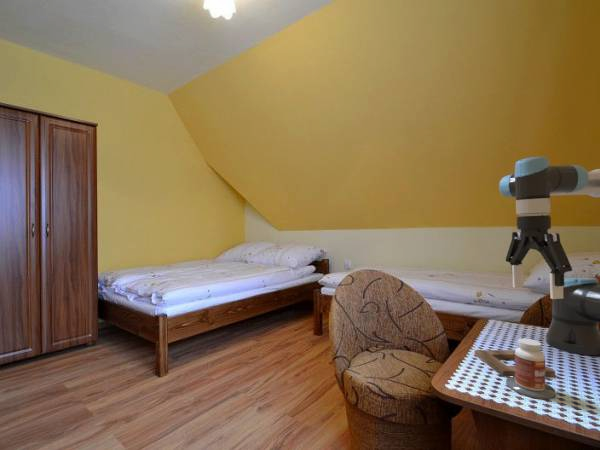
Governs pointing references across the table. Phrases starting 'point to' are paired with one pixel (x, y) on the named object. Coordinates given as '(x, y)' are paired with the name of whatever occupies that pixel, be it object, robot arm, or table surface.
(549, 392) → the slate coaster
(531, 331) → the table surface
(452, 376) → the table surface
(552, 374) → the wooden square frame
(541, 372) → the pill bottle
